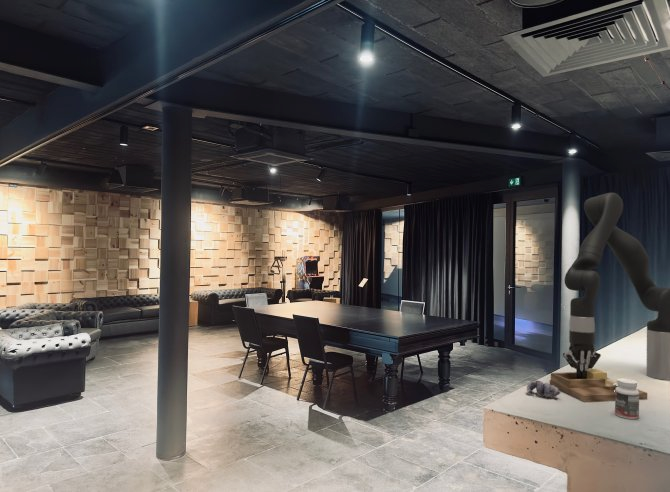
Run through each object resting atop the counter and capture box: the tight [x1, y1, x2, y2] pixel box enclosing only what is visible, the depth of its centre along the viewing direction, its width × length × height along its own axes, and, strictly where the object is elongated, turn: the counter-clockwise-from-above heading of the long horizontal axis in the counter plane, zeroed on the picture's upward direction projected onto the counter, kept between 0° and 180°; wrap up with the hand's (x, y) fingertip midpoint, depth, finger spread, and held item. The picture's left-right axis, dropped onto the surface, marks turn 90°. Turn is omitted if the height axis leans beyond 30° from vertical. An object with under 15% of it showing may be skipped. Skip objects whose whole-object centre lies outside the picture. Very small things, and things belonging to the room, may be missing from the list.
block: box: [587, 368, 608, 385], centre depth 154 cm, size 5×5×4 cm
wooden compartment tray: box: [549, 377, 648, 403], centre depth 150 cm, size 22×17×2 cm
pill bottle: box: [614, 377, 640, 420], centre depth 128 cm, size 6×6×10 cm
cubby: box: [550, 371, 605, 388], centre depth 152 cm, size 14×9×2 cm, turn 99°
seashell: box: [526, 380, 562, 399], centre depth 145 cm, size 5×5×10 cm
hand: (581, 381), depth 153 cm, fingers closed
